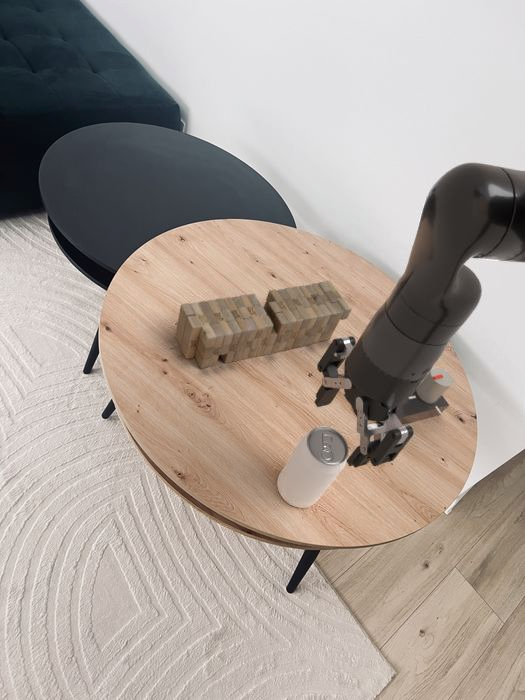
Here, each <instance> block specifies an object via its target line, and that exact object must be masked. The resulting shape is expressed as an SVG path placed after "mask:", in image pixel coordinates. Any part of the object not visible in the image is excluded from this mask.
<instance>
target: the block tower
mask: <svg viewBox="0 0 525 700" xmlns="http://www.w3.org/2000/svg"><path fill="white" fill-rule="evenodd" d="M351 312H352V307H351V306H350V305H349V303H348V302H347V301H346V299H345V298H344V296H343V295H342V294H341V292H340V291H339V290H338V289H337V287H336V286H335V285H334V283H333V282H332V281H331V280H326V281H325V280H324V281H320V282H316V283H311V284H307V285H298V286H293V287H292V286H291V287H285V288H279V289H270V290H269V291H268V292H267V296H266V299H265V303H264V305H262V304H261V302H260V300H259V299H258V297H257V295H256V294H255V293H251V294H242V295H239V296H238V295H237V296H231V297H230V296H228V297H225V298H223V297H220V298H216V299H208V300H203V301H199V302H191V303H188V302H186V303H181V304H180V307H179V312H178V319H177V326H176V331H175V336H174V337H175V339H176V341H177V343H178V345H179V346H180V349H181V352H182V353H183V355H184V357H185V359H188V360H189V359H193V358H195V361H196V362H197V364H198V366H199V368H200V369H201V370H202V369H207V368H209V367H210V368H211V367H215V366H217V364H218V361H219V357H220V358H221V359H222V361H223V363H224V364H228V363H232V362H238V361H243V360H247V359H250V358H255V357H260V356H266V355H270V354H276V353H278V352H282V351H287V350H291V349H297V348H301V347H304V346H310V345H313V344H314V345H315V344H318V343H320V342H327V341H329V340H330V339H331V338H332V336H333V334H334V332H335V331H336V329H337V326H338V324H339V323H340V322H341V321H343V320H347V319H348V318H349V316H350V315H351Z"/></svg>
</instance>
